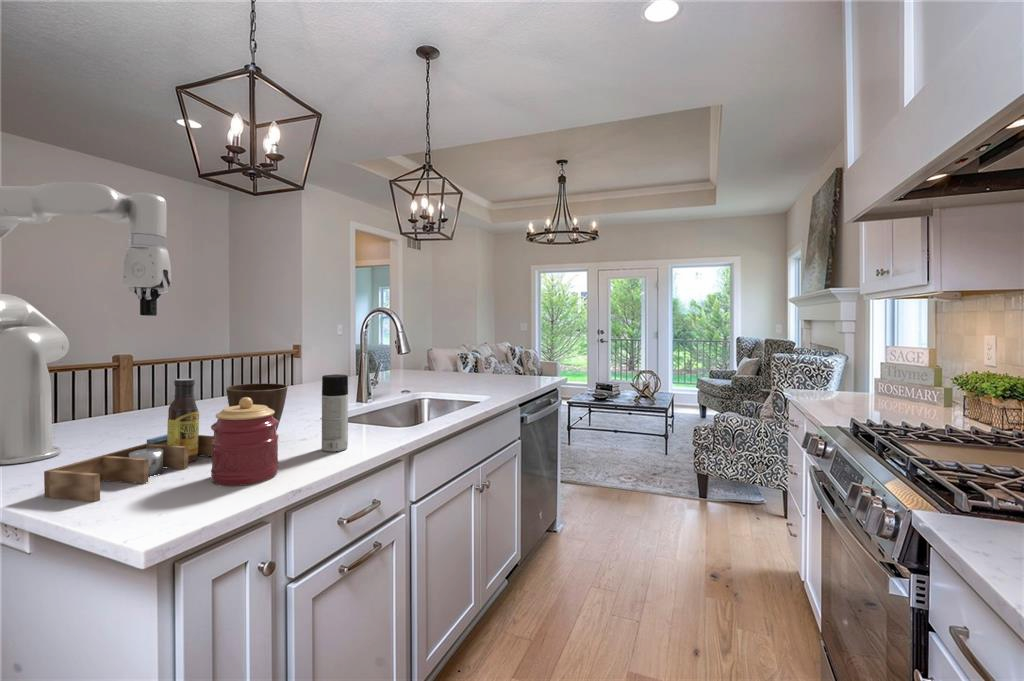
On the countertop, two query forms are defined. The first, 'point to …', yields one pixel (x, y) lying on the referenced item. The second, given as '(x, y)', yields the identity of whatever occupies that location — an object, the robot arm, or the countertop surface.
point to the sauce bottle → (184, 418)
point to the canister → (244, 444)
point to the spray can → (334, 412)
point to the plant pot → (260, 396)
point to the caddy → (115, 469)
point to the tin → (151, 459)
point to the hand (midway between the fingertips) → (148, 315)
